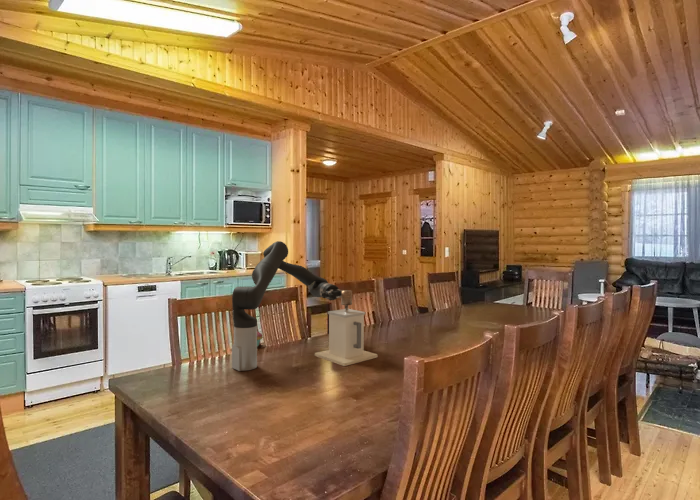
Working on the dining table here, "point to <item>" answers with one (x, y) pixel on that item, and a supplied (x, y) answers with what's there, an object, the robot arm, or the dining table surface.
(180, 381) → the dining table surface
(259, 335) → the cupcake
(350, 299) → the plunger
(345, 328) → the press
